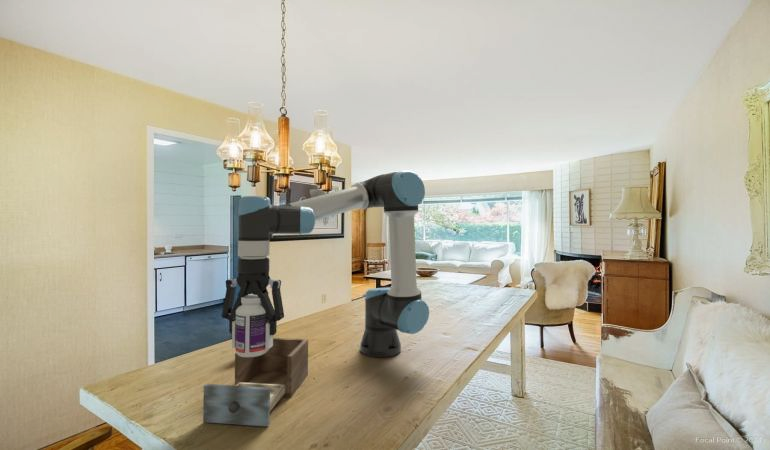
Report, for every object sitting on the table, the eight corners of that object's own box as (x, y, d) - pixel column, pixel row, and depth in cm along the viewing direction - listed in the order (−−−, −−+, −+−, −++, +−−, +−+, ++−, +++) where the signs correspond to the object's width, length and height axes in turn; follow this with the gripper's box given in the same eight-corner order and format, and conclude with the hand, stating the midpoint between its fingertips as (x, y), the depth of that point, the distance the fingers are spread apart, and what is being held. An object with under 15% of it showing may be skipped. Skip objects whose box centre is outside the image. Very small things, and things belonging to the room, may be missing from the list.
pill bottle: (272, 347, 92) (273, 293, 92) (264, 358, 84) (265, 299, 84) (241, 347, 92) (242, 293, 92) (230, 359, 84) (231, 299, 84)
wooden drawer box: (307, 374, 107) (308, 339, 107) (291, 397, 93) (291, 356, 93) (258, 372, 109) (258, 337, 109) (234, 393, 95) (235, 353, 95)
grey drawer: (289, 397, 93) (290, 365, 93) (265, 429, 78) (265, 392, 78) (234, 393, 94) (234, 362, 94) (200, 424, 79) (200, 388, 79)
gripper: (298, 256, 91) (297, 343, 91) (223, 255, 93) (221, 340, 93) (288, 259, 83) (286, 354, 83) (206, 257, 85) (204, 350, 85)
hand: (252, 346), depth 88 cm, fingers closed on pill bottle, 8 cm apart
